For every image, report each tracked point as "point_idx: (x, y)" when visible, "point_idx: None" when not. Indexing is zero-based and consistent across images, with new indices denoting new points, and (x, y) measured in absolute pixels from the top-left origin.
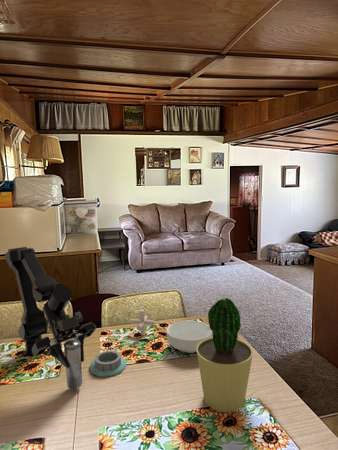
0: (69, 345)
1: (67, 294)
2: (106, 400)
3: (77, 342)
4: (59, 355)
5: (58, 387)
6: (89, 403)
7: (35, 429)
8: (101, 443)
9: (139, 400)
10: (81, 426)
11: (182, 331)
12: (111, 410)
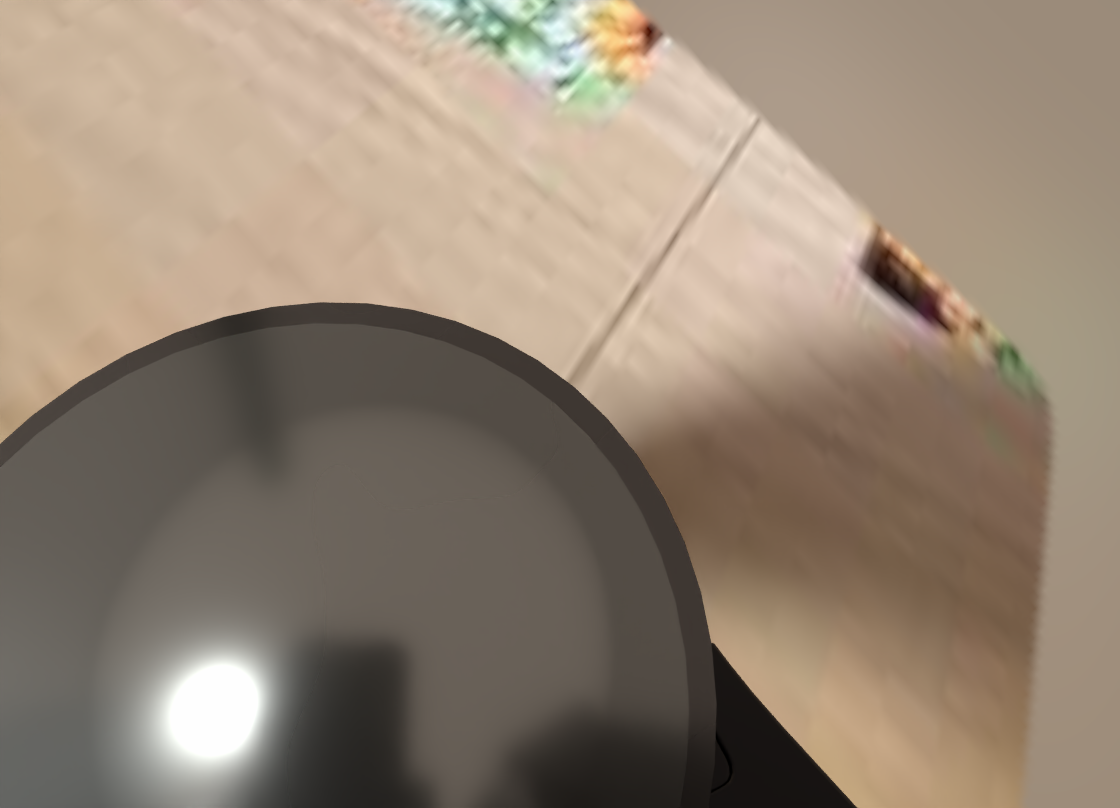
0: (526, 574)
1: None
2: (409, 256)
3: (82, 550)
4: (752, 712)
5: None
6: (511, 318)
7: (885, 368)
8: (650, 34)
9: (267, 99)
10: (664, 189)
11: None
12: (455, 161)
